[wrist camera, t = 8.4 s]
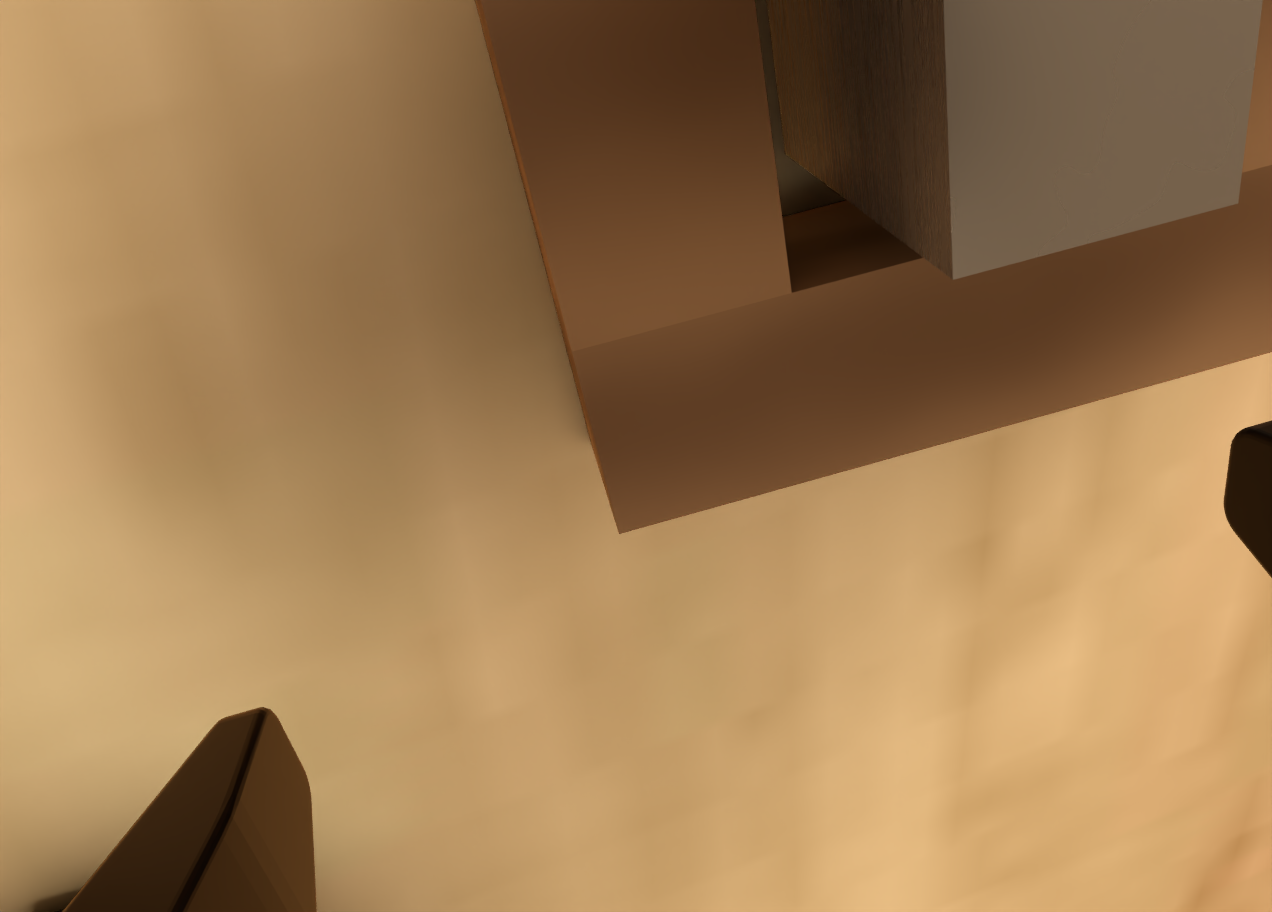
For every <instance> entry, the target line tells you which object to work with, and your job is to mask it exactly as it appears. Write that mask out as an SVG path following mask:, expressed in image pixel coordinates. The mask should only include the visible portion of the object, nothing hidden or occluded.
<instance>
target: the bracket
mask: <svg viewBox="0 0 1272 912" xmlns="http://www.w3.org/2000/svg"><path fill="white" fill-rule="evenodd" d="M1262 2H1263V0H767V8H768V16H769V24H770V33H771V41H772V49H773V58H774V66H775V74H776V83H777V91H778V99H779V108H780V116H781V124H782V133H783V141H784V150H785V154H786V155H787V156H789V157H790V158H791V159H793V160H794V161H795V162H797V163H798V164H799V165H801V166H802V167H803V168H805V169H806V170H807V171H809V172H810V173H811V174H813V175H814V176H815V177H817V178H818V179H819V180H821V181H822V182H823V183H825V184H826V185H827V186H829V187H830V188H831V189H833V190H834V191H835V192H837V193H838V194H839V195H841V196H842V197H843V198H845V199H846V200H847V201H849V202H850V203H851V204H853V205H854V206H855V207H857V208H858V209H859V210H861V211H862V212H863V213H865V214H866V215H867V216H869V217H870V218H871V219H873V220H874V221H875V222H877V223H878V224H879V225H881V226H882V227H883V228H885V229H886V230H887V231H889V232H890V233H891V234H893V235H894V236H895V237H897V238H898V239H899V240H901V241H902V242H903V243H905V244H906V245H907V246H909V247H910V248H911V249H913V250H914V251H915V252H917V253H918V254H919V255H921V256H922V257H923V258H925V259H926V260H927V261H929V262H930V263H931V264H933V265H934V266H935V267H937V268H938V269H939V270H941V271H942V272H943V273H945V274H946V275H947V276H949V277H950V278H951V279H953V280H954V279H958V278H962V277H966V276H969V275H973V274H977V273H981V272H984V271H988V270H992V269H995V268H999V267H1003V266H1007V265H1010V264H1014V263H1018V262H1022V261H1025V260H1029V259H1033V258H1036V257H1040V256H1044V255H1048V254H1051V253H1055V252H1059V251H1063V250H1066V249H1070V248H1074V247H1078V246H1081V245H1085V244H1089V243H1092V242H1096V241H1100V240H1104V239H1107V238H1111V237H1115V236H1119V235H1122V234H1126V233H1130V232H1133V231H1137V230H1141V229H1145V228H1148V227H1152V226H1156V225H1160V224H1163V223H1167V222H1171V221H1175V220H1178V219H1182V218H1186V217H1189V216H1193V215H1197V214H1201V213H1204V212H1208V211H1212V210H1216V209H1219V208H1223V207H1227V206H1230V205H1234V204H1238V201H1239V193H1240V184H1241V176H1242V168H1243V160H1244V151H1245V143H1246V135H1247V127H1248V118H1249V110H1250V102H1251V93H1252V85H1253V77H1254V69H1255V60H1256V52H1257V44H1258V35H1259V27H1260V19H1261V11H1262Z"/></svg>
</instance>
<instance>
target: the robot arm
mask: <svg viewBox="0 0 1272 912" xmlns="http://www.w3.org/2000/svg"><path fill="white" fill-rule="evenodd" d="M1224 510H1225V514H1226V518H1227V520H1228V522H1229V524H1230V526H1231V528H1232V529H1233V531H1234V532H1235V533H1236V535H1237V536H1238V537H1239V538H1240V539H1241V541H1242V542H1243V543H1244V544H1245V546H1246V547H1247V548H1248V549H1249V551H1250V552H1251V553H1252V554H1253V555H1254V557H1255V558H1256V559H1257V560H1258V562H1259V563H1260V564H1261V565H1262V567H1263V568H1264V569H1265V570H1266V571H1267V573H1268V574H1269V575H1270V576H1271V578H1272V421H1268V422H1265V423H1261V424H1258V425H1254V426H1251V427H1247V428H1244V429H1242V430H1241V431H1239V432H1238V433H1237V434H1236V436H1235V437H1234V439H1233V441H1232V444H1231V449H1230V456H1229V464H1228V472H1227V480H1226V487H1225V495H1224ZM56 912H317V909H316V887H315V866H314V845H313V823H312V802H311V792H310V786H309V782H308V778H307V775H306V772H305V770H304V768H303V766H302V764H301V762H300V760H299V758H298V756H297V754H296V752H295V750H294V748H293V747H292V745H291V743H290V741H289V739H288V737H287V735H286V733H285V731H284V729H283V727H282V725H281V723H280V721H279V719H278V718H277V716H276V715H275V714H274V713H273V712H272V711H271V710H270V709H267V708H264V707H260V708H256V709H253V710H249V711H246V712H242V713H239V714H235V715H231V716H228V717H225V718H223V719H221V720H220V721H218V722H217V723H216V724H215V725H214V726H213V728H212V729H211V730H210V731H209V732H208V734H207V735H206V736H205V737H204V739H203V740H202V741H201V742H200V743H199V745H198V746H197V747H196V748H195V750H194V751H193V752H192V753H191V755H190V756H189V757H188V758H187V759H186V761H185V762H184V763H183V764H182V766H181V767H180V768H179V769H178V771H177V772H176V773H175V774H174V775H173V777H172V778H171V779H170V780H169V782H168V783H167V784H166V785H165V787H164V788H163V789H162V790H161V791H160V793H159V794H158V795H157V796H156V798H155V799H154V800H153V801H152V802H151V804H150V805H149V806H148V807H147V809H146V810H145V811H144V812H143V814H142V815H141V816H140V817H139V818H138V820H137V821H136V822H135V823H134V825H133V826H132V827H131V828H130V830H129V831H128V832H127V833H126V834H125V836H124V837H123V838H122V839H121V841H120V842H119V843H118V844H117V846H116V847H115V848H114V849H113V850H112V852H111V853H110V854H109V855H108V857H107V858H106V859H105V860H104V861H103V863H102V864H101V865H100V866H99V868H98V869H97V870H96V871H95V873H94V874H93V875H92V876H91V877H90V879H89V880H88V881H87V882H86V884H85V885H84V886H83V887H82V889H81V890H80V891H79V892H78V893H77V895H76V896H75V897H74V898H73V900H72V901H71V902H70V903H69V905H68V906H67V907H66V908H65V909H63V910H59V911H56Z"/></svg>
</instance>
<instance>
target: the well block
mask: <svg viewBox="0 0 1272 912" xmlns="http://www.w3.org/2000/svg"><path fill="white" fill-rule="evenodd" d="M475 2H476V6H477V10H478V14H479V18H480V21H481V25H482V29H483V33H484V37H485V41H486V44H487V48H488V52H489V56H490V60H491V63H492V67H493V71H494V75H495V79H496V83H497V86H498V90H499V94H500V98H501V102H502V105H503V109H504V113H505V117H506V121H507V124H508V128H509V132H510V136H511V140H512V144H513V147H514V151H515V155H516V159H517V163H518V166H519V170H520V174H521V178H522V182H523V186H524V189H525V193H526V197H527V201H528V205H529V208H530V212H531V216H532V220H533V224H534V227H535V231H536V235H537V239H538V243H539V247H540V250H541V254H542V258H543V262H544V266H545V269H546V273H547V277H548V281H549V285H550V289H551V292H552V296H553V300H554V304H555V308H556V311H557V315H558V319H559V323H560V327H561V330H562V334H563V338H564V342H565V346H566V350H567V353H568V357H569V361H570V365H571V369H572V372H573V376H574V380H575V384H576V388H577V392H578V395H579V399H580V403H581V407H582V411H583V414H584V418H585V422H586V426H587V430H588V434H589V437H590V441H591V445H592V448H593V451H594V454H595V457H596V461H597V464H598V467H599V470H600V474H601V477H602V480H603V483H604V487H605V490H606V493H607V496H608V499H609V503H610V506H611V509H612V512H613V516H614V519H615V522H616V525H617V529H618V532H619V534H621V533H624V532H628V531H631V530H635V529H639V528H642V527H646V526H649V525H653V524H657V523H660V522H664V521H667V520H671V519H674V518H678V517H682V516H685V515H689V514H692V513H696V512H700V511H703V510H707V509H710V508H714V507H717V506H721V505H725V504H728V503H732V502H735V501H739V500H743V499H746V498H750V497H753V496H757V495H761V494H764V493H768V492H771V491H775V490H778V489H782V488H786V487H789V486H793V485H796V484H800V483H804V482H807V481H811V480H814V479H818V478H822V477H825V476H829V475H832V474H836V473H839V472H843V471H847V470H850V469H854V468H857V467H861V466H865V465H868V464H872V463H875V462H879V461H883V460H886V459H890V458H893V457H897V456H900V455H904V454H908V453H911V452H915V451H918V450H922V449H926V448H929V447H933V446H936V445H940V444H944V443H947V442H951V441H954V440H958V439H961V438H965V437H969V436H972V435H976V434H979V433H983V432H987V431H990V430H994V429H997V428H1001V427H1004V426H1008V425H1012V424H1015V423H1019V422H1022V421H1026V420H1030V419H1033V418H1037V417H1040V416H1044V415H1048V414H1051V413H1055V412H1058V411H1062V410H1065V409H1069V408H1073V407H1076V406H1080V405H1083V404H1087V403H1091V402H1094V401H1098V400H1101V399H1105V398H1109V397H1112V396H1116V395H1119V394H1123V393H1126V392H1130V391H1134V390H1137V389H1141V388H1144V387H1148V386H1152V385H1155V384H1159V383H1162V382H1166V381H1170V380H1173V379H1177V378H1180V377H1184V376H1187V375H1191V374H1195V373H1198V372H1202V371H1205V370H1209V369H1213V368H1216V367H1220V366H1223V365H1227V364H1230V363H1234V362H1238V361H1241V360H1245V359H1248V358H1252V357H1256V356H1259V355H1263V354H1266V353H1270V352H1272V0H1263V2H1262V11H1261V19H1260V27H1259V35H1258V44H1257V52H1256V60H1255V69H1254V77H1253V85H1252V93H1251V102H1250V110H1249V118H1248V127H1247V135H1246V143H1245V151H1244V160H1243V168H1242V176H1241V184H1240V193H1239V201H1238V204H1234V205H1230V206H1227V207H1223V208H1219V209H1216V210H1212V211H1208V212H1204V213H1201V214H1197V215H1193V216H1189V217H1186V218H1182V219H1178V220H1175V221H1171V222H1167V223H1163V224H1160V225H1156V226H1152V227H1148V228H1145V229H1141V230H1137V231H1133V232H1130V233H1126V234H1122V235H1119V236H1115V237H1111V238H1107V239H1104V240H1100V241H1096V242H1092V243H1089V244H1085V245H1081V246H1078V247H1074V248H1070V249H1066V250H1063V251H1059V252H1055V253H1051V254H1048V255H1044V256H1040V257H1036V258H1033V259H1029V260H1025V261H1022V262H1018V263H1014V264H1010V265H1007V266H1003V267H999V268H995V269H992V270H988V271H984V272H981V273H977V274H973V275H969V276H966V277H962V278H958V279H954V280H953V279H951V278H950V277H949V276H947V275H946V274H945V273H943V272H942V271H941V270H939V269H938V268H937V267H935V266H934V265H933V264H931V263H930V262H929V261H927V260H926V259H925V258H923V257H922V256H921V255H919V254H918V253H917V252H915V251H914V250H913V249H911V248H910V247H909V246H907V245H906V244H905V243H903V242H902V241H901V240H899V239H898V238H897V237H895V236H894V235H893V234H891V233H890V232H889V231H887V230H886V229H885V228H883V227H882V226H881V225H879V224H878V223H877V222H875V221H874V220H873V219H871V218H870V217H869V216H867V215H866V214H865V213H863V212H862V211H861V210H859V209H858V208H857V207H855V206H854V205H853V204H851V203H850V202H849V201H847V200H846V201H842V202H838V203H834V204H831V205H827V206H823V207H819V208H815V209H811V210H808V211H804V212H800V213H796V214H792V215H789V216H785V217H782V212H781V204H780V196H779V188H778V180H777V173H776V165H775V157H774V149H773V141H772V133H771V125H770V117H769V109H768V101H767V94H766V86H765V78H764V70H763V62H762V54H761V46H760V38H759V30H758V22H757V14H756V7H755V0H475Z"/></svg>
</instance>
